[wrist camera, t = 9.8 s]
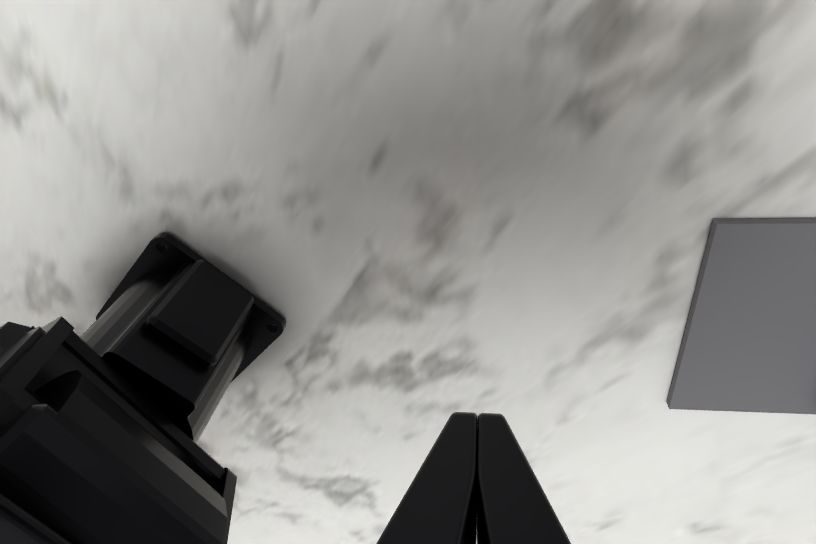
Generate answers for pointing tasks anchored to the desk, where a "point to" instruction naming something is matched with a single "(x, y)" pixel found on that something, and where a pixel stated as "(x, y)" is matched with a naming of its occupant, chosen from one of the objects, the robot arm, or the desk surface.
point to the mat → (752, 321)
